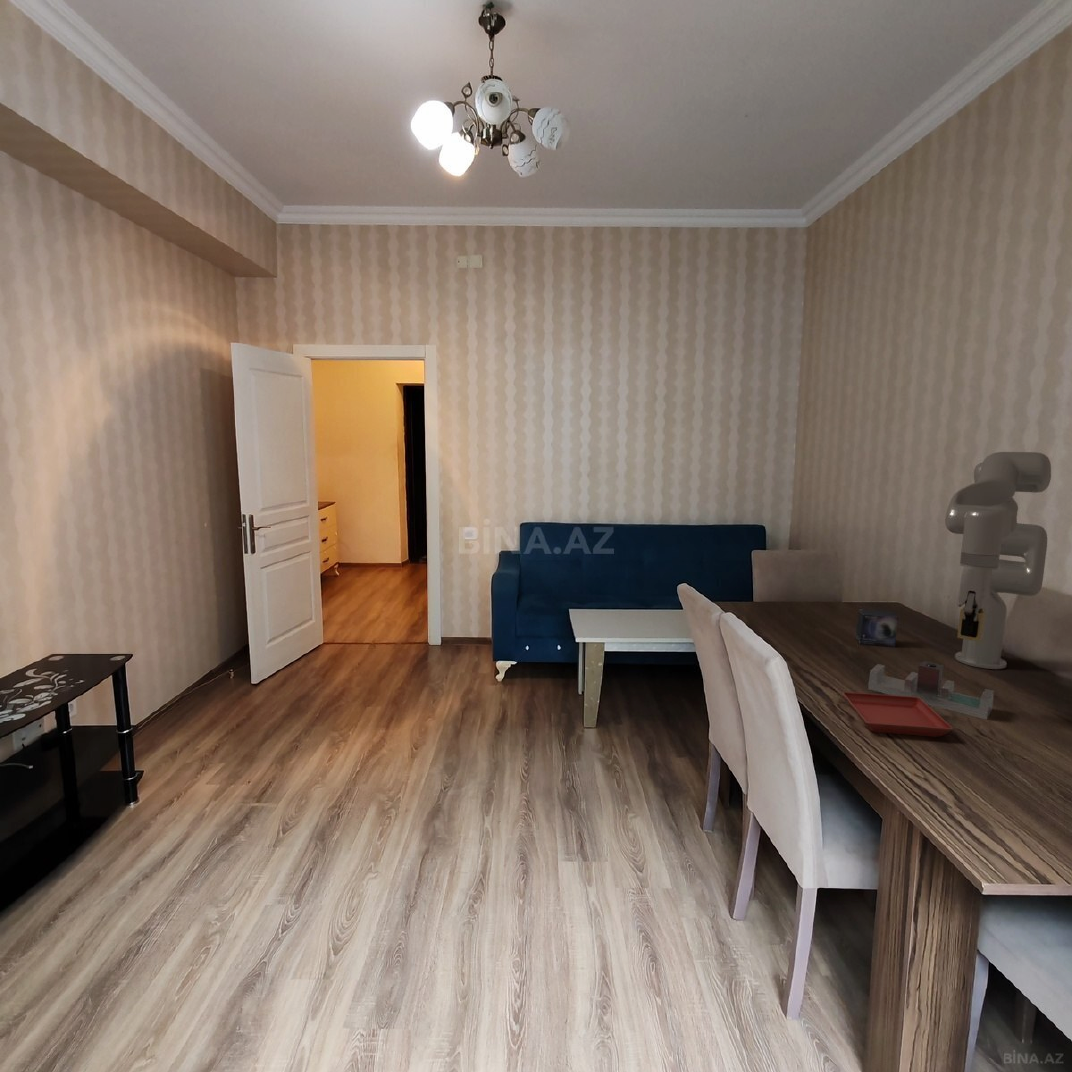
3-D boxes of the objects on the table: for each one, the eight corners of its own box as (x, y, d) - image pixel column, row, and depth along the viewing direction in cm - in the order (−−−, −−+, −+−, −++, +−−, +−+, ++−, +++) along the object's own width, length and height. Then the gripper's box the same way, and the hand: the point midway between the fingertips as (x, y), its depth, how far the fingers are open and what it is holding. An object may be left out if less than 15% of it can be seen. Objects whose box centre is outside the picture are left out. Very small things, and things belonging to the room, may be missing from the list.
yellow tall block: (961, 633, 154) (964, 605, 153) (983, 637, 151) (986, 609, 150) (957, 637, 151) (960, 609, 150) (979, 641, 148) (983, 612, 146)
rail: (876, 680, 170) (878, 663, 170) (992, 709, 153) (994, 690, 152) (867, 689, 165) (869, 671, 164) (986, 719, 147) (989, 699, 146)
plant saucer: (840, 703, 157) (841, 690, 156) (917, 708, 154) (919, 696, 153) (865, 736, 139) (866, 722, 139) (953, 743, 136) (954, 729, 136)
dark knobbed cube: (920, 686, 161) (923, 660, 160) (940, 691, 158) (943, 664, 157) (916, 691, 158) (919, 664, 157) (936, 696, 155) (939, 669, 154)
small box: (859, 645, 200) (862, 614, 199) (854, 639, 206) (857, 608, 205) (895, 648, 198) (899, 616, 196) (889, 641, 204) (892, 611, 202)
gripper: (967, 554, 156) (959, 623, 159) (953, 563, 144) (944, 638, 147) (1004, 558, 151) (995, 629, 154) (992, 568, 139) (982, 645, 142)
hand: (970, 633), depth 151 cm, fingers closed on yellow tall block, 4 cm apart
